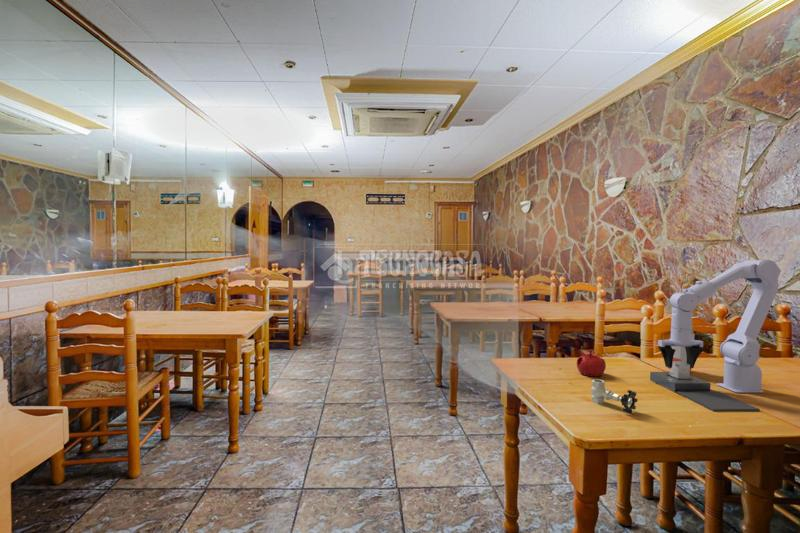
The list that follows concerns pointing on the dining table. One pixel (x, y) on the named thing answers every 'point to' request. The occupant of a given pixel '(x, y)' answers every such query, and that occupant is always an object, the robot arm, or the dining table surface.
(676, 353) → the french fries container
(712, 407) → the rubber mat
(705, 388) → the socket block
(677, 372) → the steel peg
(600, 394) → the valve
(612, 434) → the dining table surface
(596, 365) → the pomegranate
